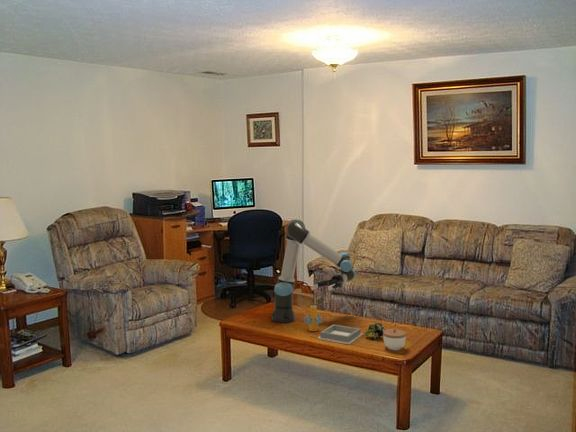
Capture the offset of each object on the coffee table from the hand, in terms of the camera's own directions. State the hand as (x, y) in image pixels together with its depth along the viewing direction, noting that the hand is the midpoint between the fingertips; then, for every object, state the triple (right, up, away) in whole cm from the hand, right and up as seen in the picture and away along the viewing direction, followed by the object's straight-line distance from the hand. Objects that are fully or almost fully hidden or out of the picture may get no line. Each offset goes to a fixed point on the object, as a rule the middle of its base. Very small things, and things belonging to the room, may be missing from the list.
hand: (320, 288), depth 360 cm
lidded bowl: (+39, -29, -39) cm, 62 cm away
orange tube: (-4, -25, -7) cm, 26 cm away
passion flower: (+31, -27, -22) cm, 47 cm away
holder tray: (+11, -26, -20) cm, 35 cm away
